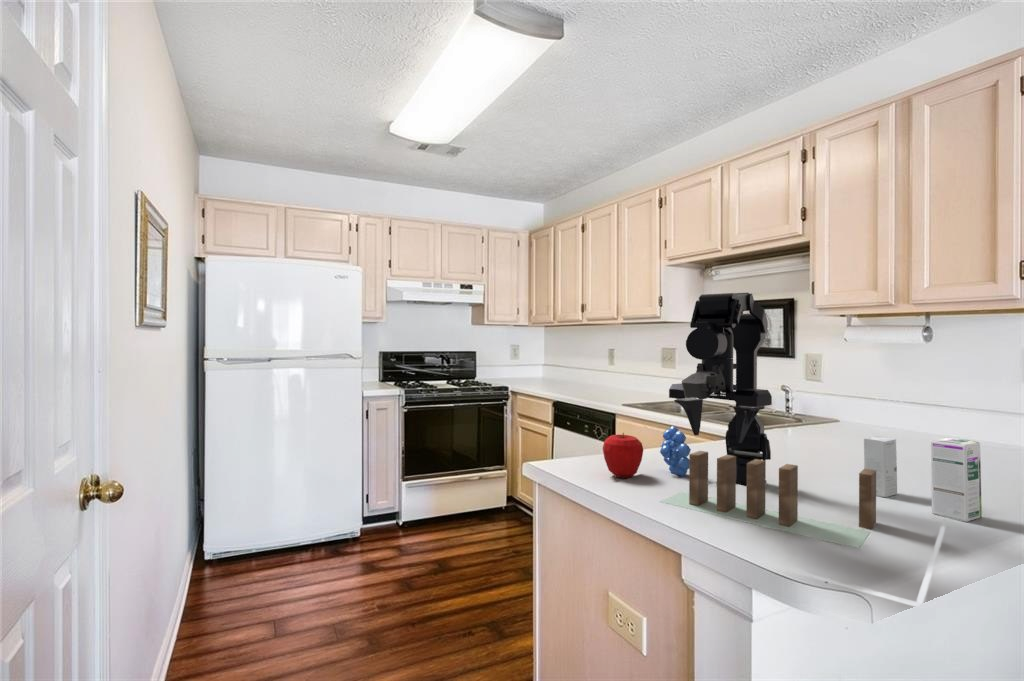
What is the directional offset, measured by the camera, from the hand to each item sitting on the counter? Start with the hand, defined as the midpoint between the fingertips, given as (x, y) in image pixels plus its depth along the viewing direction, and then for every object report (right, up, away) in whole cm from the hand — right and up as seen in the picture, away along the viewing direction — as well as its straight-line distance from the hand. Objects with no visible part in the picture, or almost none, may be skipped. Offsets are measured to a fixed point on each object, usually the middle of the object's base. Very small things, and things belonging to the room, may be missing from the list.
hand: (717, 438), depth 100 cm
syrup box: (+45, -15, -1) cm, 48 cm away
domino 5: (+24, -14, -8) cm, 29 cm away
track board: (+6, -14, -4) cm, 16 cm away
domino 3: (+6, -14, -4) cm, 15 cm away
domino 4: (+10, -14, -7) cm, 18 cm away
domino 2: (+2, -14, 0) cm, 14 cm away
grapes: (0, -15, +28) cm, 32 cm away
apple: (-13, -14, +26) cm, 33 cm away
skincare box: (+42, -15, +14) cm, 46 cm away
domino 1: (-2, -14, +4) cm, 14 cm away
